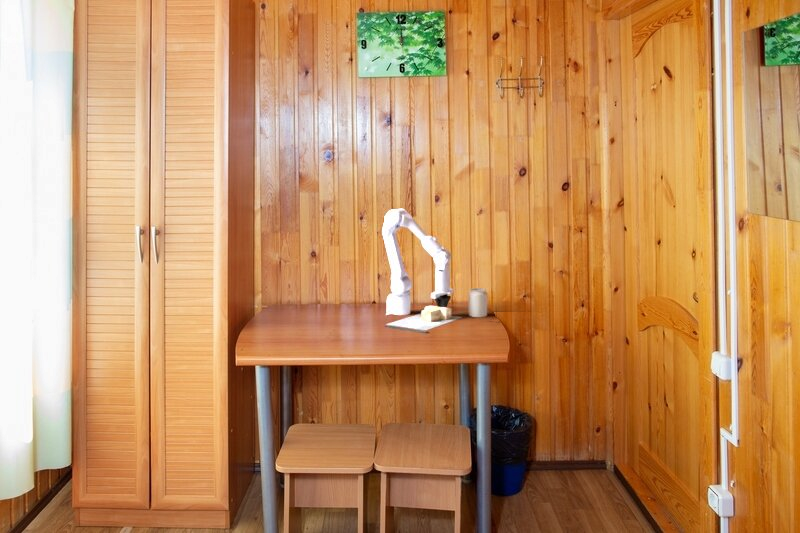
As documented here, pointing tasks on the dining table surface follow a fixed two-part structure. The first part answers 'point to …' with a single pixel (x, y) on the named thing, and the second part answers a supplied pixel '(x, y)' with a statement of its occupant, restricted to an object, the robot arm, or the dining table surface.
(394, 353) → the dining table surface
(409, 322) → the board
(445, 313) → the block
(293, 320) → the dining table surface
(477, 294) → the can
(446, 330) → the dining table surface
